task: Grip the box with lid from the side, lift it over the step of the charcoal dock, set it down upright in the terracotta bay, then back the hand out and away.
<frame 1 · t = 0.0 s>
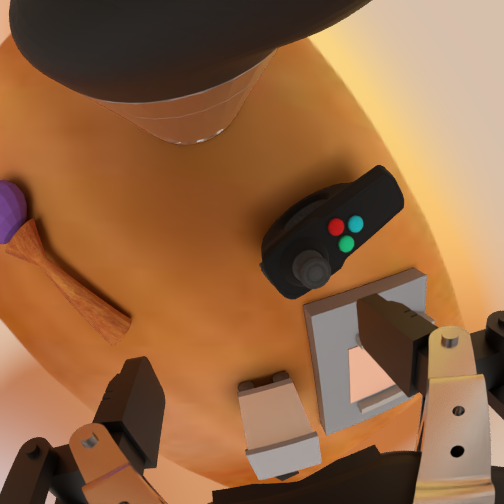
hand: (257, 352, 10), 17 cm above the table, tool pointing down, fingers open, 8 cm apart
controller: (306, 213, 27), on the table
dock: (366, 356, 33), on the table
box with lid: (265, 390, 32), on the table
kendama: (57, 255, 25), on the table
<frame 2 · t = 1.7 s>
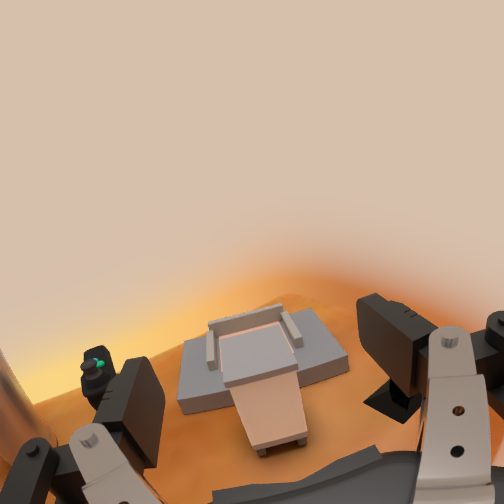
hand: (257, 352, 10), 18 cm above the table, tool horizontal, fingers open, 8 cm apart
controller: (122, 413, 32), on the table
dock: (258, 364, 38), on the table
box with lid: (278, 433, 25), on the table
black notched block: (409, 391, 26), on the table
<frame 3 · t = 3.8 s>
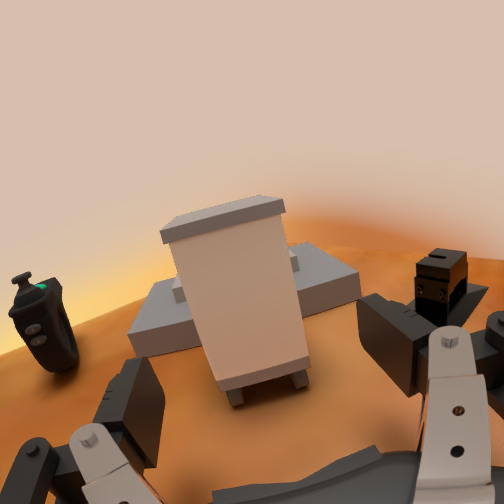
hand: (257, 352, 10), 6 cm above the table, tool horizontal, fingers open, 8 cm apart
controller: (68, 362, 24), on the table
dock: (242, 301, 31), on the table
box with lid: (263, 374, 18), on the table
black notched block: (441, 314, 19), on the table
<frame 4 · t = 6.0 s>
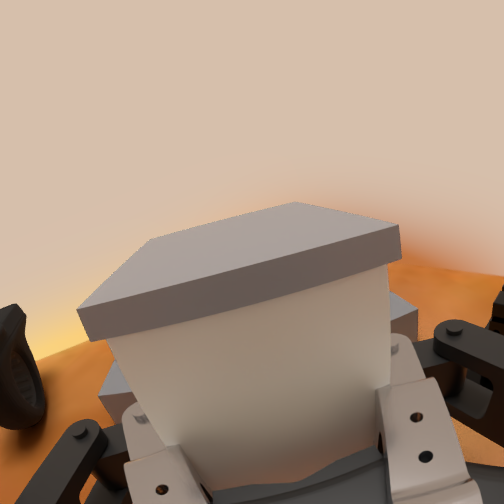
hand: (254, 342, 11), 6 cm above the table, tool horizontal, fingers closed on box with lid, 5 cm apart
controller: (35, 412, 16), on the table
dock: (253, 340, 23), on the table
box with lid: (294, 476, 10), on the table, touching gripper
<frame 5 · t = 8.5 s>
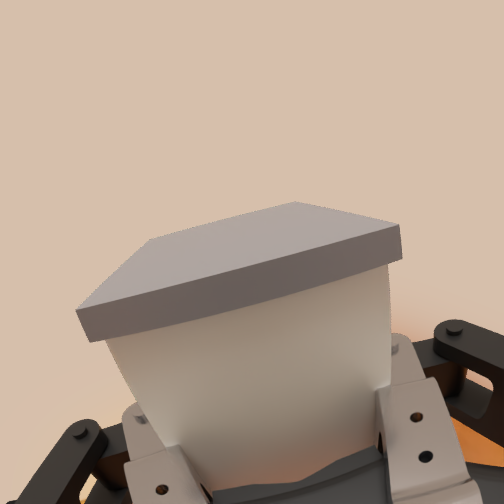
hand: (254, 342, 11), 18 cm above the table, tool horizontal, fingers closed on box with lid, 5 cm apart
box with lid: (294, 476, 10), point 12 cm above the table, touching gripper
when the fingers open (10 cm above the table, at t = 11.0 s): box with lid drops 1 cm, resting on dock.
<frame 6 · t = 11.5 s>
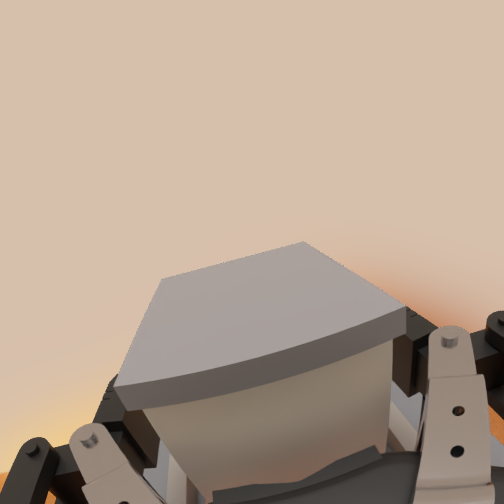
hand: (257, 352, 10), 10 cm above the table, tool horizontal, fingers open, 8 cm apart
box with lid: (299, 490, 10), point 3 cm above the table, touching dock
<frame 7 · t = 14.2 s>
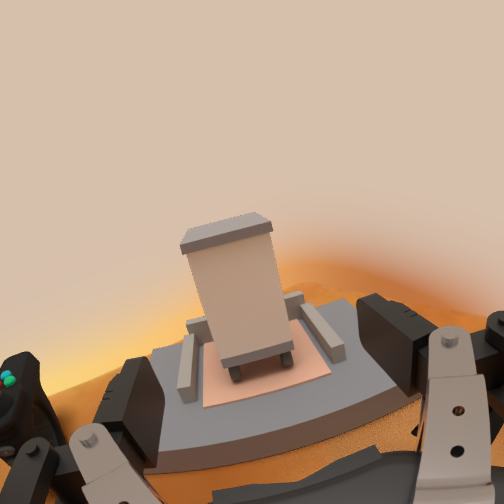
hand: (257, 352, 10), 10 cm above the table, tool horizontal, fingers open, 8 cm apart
controller: (57, 455, 16), on the table
dock: (266, 389, 22), on the table
box with lid: (258, 357, 23), point 3 cm above the table, touching dock
black notched block: (476, 408, 14), on the table
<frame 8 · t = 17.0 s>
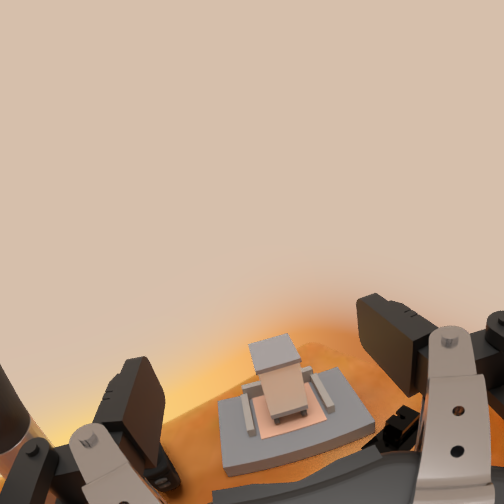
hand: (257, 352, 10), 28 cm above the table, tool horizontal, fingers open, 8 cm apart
controller: (166, 474, 31), on the table
dock: (291, 424, 38), on the table
box with lid: (287, 408, 38), point 3 cm above the table, touching dock
black notched block: (399, 438, 30), on the table
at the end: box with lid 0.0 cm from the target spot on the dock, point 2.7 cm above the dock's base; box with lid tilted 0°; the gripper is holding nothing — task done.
